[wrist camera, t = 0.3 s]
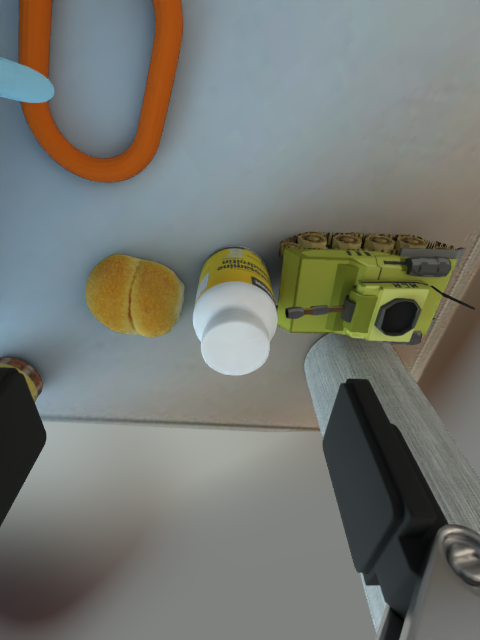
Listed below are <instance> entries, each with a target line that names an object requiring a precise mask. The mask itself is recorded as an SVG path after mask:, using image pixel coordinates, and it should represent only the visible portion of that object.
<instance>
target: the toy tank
mask: <svg viewBox="0 0 480 640" xmlns="http://www.w3.org/2000/svg"><path fill="white" fill-rule="evenodd" d="M323 233H324V232H321V235H319V232H306V234H302V235H300V234H298V241H297V240H296V239H295V237H296V236H294V238H293V237H292V239H293V241H294V242H295V243H291V242H290V240H291V238H288V240H287V239H286V242H284V243H283V244H282V242H283V241H281V242H280V248H279V254H280V255H279V256H280V257H281V258H282V255H283V265H282V273H281V282H280V291H279V299H278V305H277V306H276V310H277V317H278V322H277V325H278V326H280V327H282V328H284V329H285V330H287V331H289V332H291V333H336V334H343V335H348V336H350V337H351V338H362V339H365V340H368V341H383V342H384V343H390V344H405V345H415V344H419V343H420V342H421V338H422V336H425V335H426V334H427V333H429V332H430V330H431V328H432V326H433V323H434V321H435V319H436V318H433V317H434V314H435V312H436V310H437V307H438V305H439V303H440V300H441V298H442V296H444V297H446V298H449V299H451V300H453V301H455V302H458V303H460V304H462V305H465V306H467V307H469V308H471V309H475V308H473V307H471V306H469V305H467V304H465V303H463V302H461V301H459V300H457V299H455V298H453V297H451V296H449V295H447V294H445V293H444V291H445V288H446V286H447V284H448V281H449V279H450V277H451V274H452V272H453V269H454V268H455V267H457V266H458V265H459V263H460V260H461V258H462V256H463V253H464V251H465V249H466V248H458V249H455V250H454V249H453V247H454V246H451V247H450V246H449V247H450V248H447V246H446V244H443V247H442V245H441V243H439V242H437V241H436V244H435V247H434V244H433V246H432V248H431V245H432V243H431V245H430V247H429V243H430V241H429V243H428V245H427V242H426V241H425V240H423V239H422V238H420V237H418V236H417V238H415V236H414V235H413V236H412V237H410V235H397V237H396V236H395V238H396V242H395V238H394V240H393V238H392V237H394V236H393V234H391V235H389V234H386V237H385V236H384V234H377V235H376V234H373V236H371V235H372V234H369V236H367V238H366V235H365V238H366V239H365V238H364V241H363V238H362V236H364V235H363V233H360V234H359V233H356V236H354V233H352V235H351V234H350V233H345V235H343V233H335V234H336V236H334V237H333V236H332V233H328V235H327V234H326V236H327V239H326V237H324V236H323ZM331 238H332V239H331ZM289 239H290V240H289ZM328 239H329V240H328ZM421 239H422V240H421ZM427 241H428V240H427ZM327 242H328V245H332V249H328V248H326V244H327ZM362 243H363V244H362ZM434 243H435V242H434ZM394 244H395V247H394ZM426 245H427V248H426ZM437 245H438V246H437ZM440 245H441V247H440ZM447 245H448V244H447ZM361 246H364V247H363V248H364V251H362V249H360V247H361ZM445 246H446V247H445ZM393 247H394V249H395V250H393ZM428 247H429V249H428ZM433 247H434V248H433ZM452 249H453V250H452Z"/></svg>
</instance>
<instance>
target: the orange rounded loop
mask: <svg viewBox="0 0 480 640" xmlns="http://www.w3.org/2000/svg"><path fill="white" fill-rule="evenodd" d="M152 1H153V5H154V10H155V18H156V31H155V37H154V44H153V50H152V56H151V61H150V67H149V72H148V78H147V84H146V89H145V94H144V100H143V105H142V110H141V116H140V121H139V125H138V130H137V134H136V137H135V139H134V141H133V143H132V144H131V146H130V147H129V148H128V149H127V150H126V151H125V152H124V153H122V154H120V155H118V156H116V157H113V158H107V159H101V158H94V157H91V156H88V155H86V154H84V153H82V152H80V151H79V150H77V149H76V148H75V147H73V146H72V145H71V144H70V143H69V142H68V141H67V140H66V139H65V138H64V137H63V135H62V134H61V133H60V131H59V130H58V128H57V126H56V125H55V123H54V121H53V118H52V116H51V112H50V109H49V104H48V101H47V102H41V103H28V102H22V101H21V105H22V109H23V112H24V115H25V118H26V121H27V123H28V125H29V127H30V129H31V131H32V133H33V134H34V136H35V138H36V139H37V141H38V142H39V143H40V145H41V146H42V147H43V149H44V150H45V151H46V152H47V153H48V154H49V155H50V156H51V157H52V158H53V159H54V160H55V161H56V162H57V163H59V164H60V165H61V166H62V167H64V168H65V169H67V170H68V171H70V172H72V173H74V174H75V175H77V176H80V177H82V178H85V179H88V180H91V181H97V182H119V181H123V180H126V179H129V178H131V177H133V176H135V175H137V174H138V173H140V172H141V171H142V170H143V169H144V168H145V167H146V166H147V165H148V164H149V163H150V162H151V160H152V159H153V157H154V155H155V154H156V151H157V149H158V146H159V143H160V139H161V135H162V131H163V127H164V122H165V118H166V114H167V109H168V105H169V100H170V96H171V91H172V86H173V82H174V77H175V72H176V68H177V63H178V58H179V53H180V47H181V42H182V33H183V16H182V7H181V1H180V0H152ZM51 16H52V0H19V64H22V65H25V66H27V67H29V68H31V69H33V70H36V71H38V72H39V73H41V74H42V75H44V76H45V77H46V78H47V79H48V73H49V52H50V34H51Z"/></svg>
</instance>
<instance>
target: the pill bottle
mask: <svg viewBox="0 0 480 640" xmlns="http://www.w3.org/2000/svg"><path fill="white" fill-rule="evenodd" d="M277 322H278V317H277V310H276V305H275V300H274V295H273V291H272V286H271V281H270V277H269V272H268V269H267V266H266V264H265V262H264V261H263V259H262V258H261V257H260V256H259V255H258V254H257V253H256V252H254V251H253V250H251V249H249V248H246V247H242V246H227V247H223V248H221V249H219V250H217V251H215V252H214V253H212V254H211V255H210V256H209V257H208V258H207V260H206V261H205V263H204V265H203V267H202V270H201V275H200V280H199V286H198V291H197V296H196V301H195V306H194V312H193V326H194V330H195V332H196V335H197V337H198V338H199V340H200V341H201V353H202V356H203V358H204V360H205V362H206V363H207V364H208V365H209V366H210V367H211V368H212V369H214V370H215V371H217V372H220V373H222V374H226V375H244V374H248V373H250V372H253V371H255V370H256V369H258V368H259V367H261V366H262V365H263V364H264V362H265V361H266V360H267V358H268V355H269V352H270V341H271V339H272V338H273V336H274V334H275V331H276V328H277Z"/></svg>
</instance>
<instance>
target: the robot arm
mask: <svg viewBox="0 0 480 640" xmlns="http://www.w3.org/2000/svg"><path fill="white" fill-rule="evenodd" d="M45 442H46V431H45V429H44V426H43V424H42V421H41V418H40V416H39V413H38V410H37V408H36V405H35V402H34V400H33V397H32V395H31V392H30V389H29V387H28V384H27V382H26V379H25V376H24V375H23V374H22V373H19V371H18V370H17V369H16V368H8V367H0V526H1V524H2V522H3V521H4V519H5V517H6V515H7V513H8V511H9V510H10V508H11V506H12V504H13V502H14V500H15V498H16V497H17V495H18V493H19V491H20V489H21V487H22V485H23V484H24V482H25V480H26V478H27V476H28V474H29V473H30V470H31V469H32V467H33V465H34V463H35V462H36V460H37V458H38V456H39V454H40V452H41V451H42V449H43V447H44V445H45ZM323 451H324V455H325V458H326V462H327V466H328V469H329V473H330V477H331V481H332V485H333V488H334V492H335V496H336V499H337V503H338V507H339V510H340V514H341V518H342V522H343V526H344V529H345V533H346V537H347V540H348V544H349V548H350V552H351V555H352V559H353V563H354V566H355V568H356V570H357V572H359V573H362V574H363V577H364V581H365V584H366V586H380V588H381V591H382V594H383V597H384V601H385V602H386V603H387V604H386V607H385V610H384V613H383V616H382V619H381V622H380V625H379V628H378V631H377V634H376V637H375V640H480V534H479V533H477V532H476V531H474V530H472V529H470V528H468V527H466V526H462V525H457V524H448V522H447V520H446V518H445V516H444V514H443V512H442V510H441V508H440V507H439V505H438V503H437V501H436V499H435V497H434V495H433V493H432V491H431V489H430V487H429V485H428V483H427V482H426V480H425V478H424V476H423V474H422V472H421V470H420V468H419V466H418V464H417V462H416V460H415V458H414V457H413V455H412V453H411V451H410V449H409V447H408V445H407V443H406V441H405V439H404V437H403V435H402V433H401V432H400V430H399V429H398V427H397V426H396V425H394V424H391V423H390V421H389V419H388V417H387V415H386V413H385V411H384V409H383V407H382V405H381V403H380V401H379V399H378V397H377V395H376V393H375V391H374V389H373V387H372V385H371V383H370V382H369V380H367V379H351V378H349V379H347V380H346V382H345V383H341V384H340V386H339V390H338V393H337V396H336V399H335V402H334V406H333V409H332V412H331V415H330V418H329V421H328V425H327V428H326V431H325V434H324V437H323Z"/></svg>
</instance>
